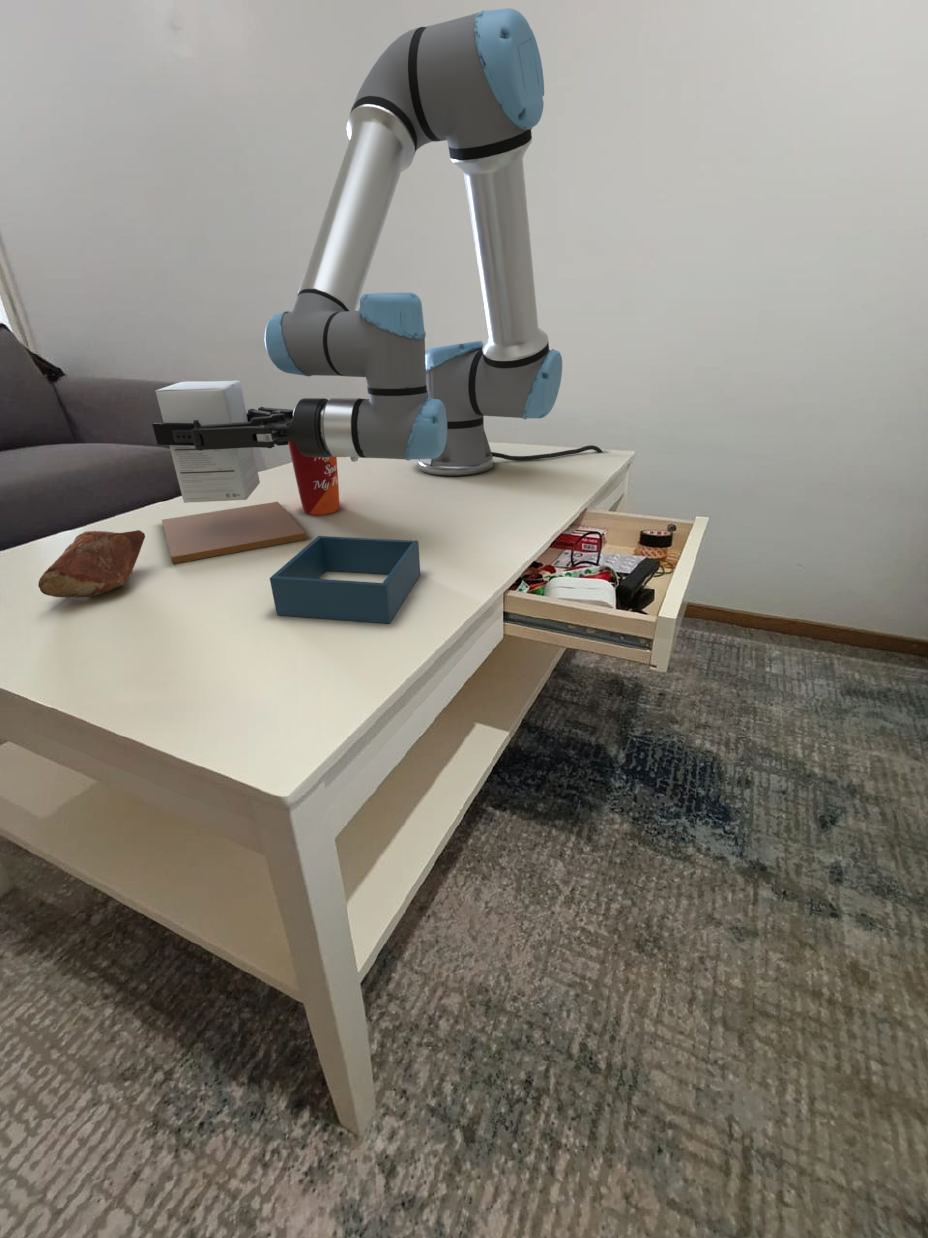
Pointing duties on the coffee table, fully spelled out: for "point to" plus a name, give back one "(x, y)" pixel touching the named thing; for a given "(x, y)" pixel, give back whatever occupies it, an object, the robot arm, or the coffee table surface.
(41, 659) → the coffee table surface
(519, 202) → the robot arm
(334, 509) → the coffee cup
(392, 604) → the crate
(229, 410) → the white product box
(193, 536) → the cork mat
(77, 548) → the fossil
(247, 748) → the coffee table surface
